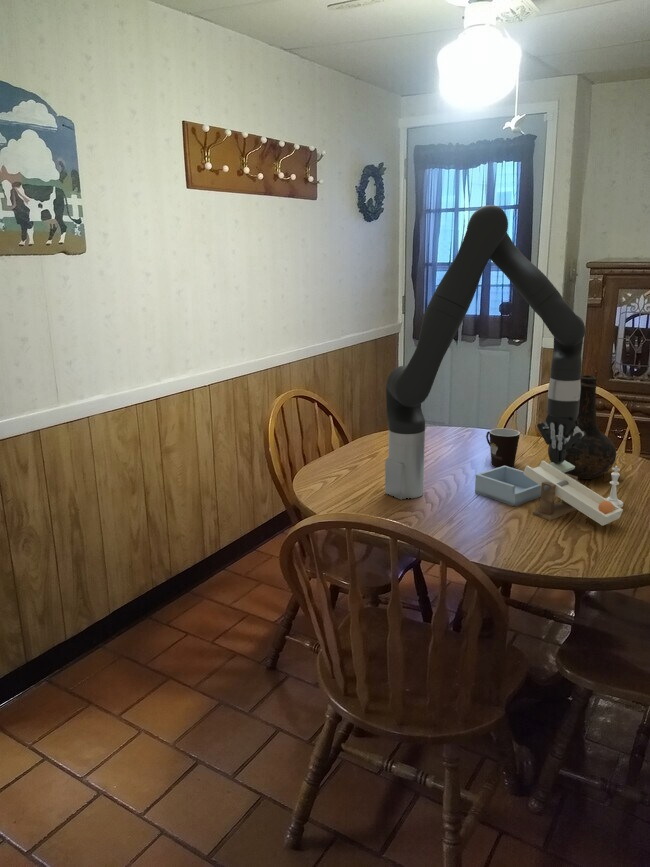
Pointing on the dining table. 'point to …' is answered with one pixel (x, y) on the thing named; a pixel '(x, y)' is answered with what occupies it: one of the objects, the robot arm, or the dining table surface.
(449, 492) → the dining table surface
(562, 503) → the stand
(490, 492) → the bin
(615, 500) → the chess piece
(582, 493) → the lever
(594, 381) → the glass bottle
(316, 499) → the dining table surface
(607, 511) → the ball
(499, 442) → the coffee mug
